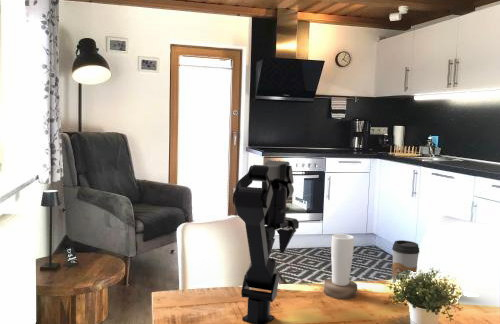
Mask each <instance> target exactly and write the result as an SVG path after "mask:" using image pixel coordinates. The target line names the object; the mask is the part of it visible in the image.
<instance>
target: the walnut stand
mask: <svg viewBox="0 0 500 324" xmlns="http://www.w3.org/2000/svg"><path fill="white" fill-rule="evenodd" d="M323 285H324V286H323V294H325V295H326V297H327V296H328V297H329V298H332V299H336V300H345V301H346V300H352V299H354V298H356V297H357V294H358V284H357V283H356V281H355V282H354V281H352V280H350V279H349V284H348V285H347V286H337V285H335V284H333V283H332V277H331V278H327V279H326V280H324V283H323Z"/></svg>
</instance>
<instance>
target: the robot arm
mask: <svg viewBox="0 0 500 324" xmlns="http://www.w3.org/2000/svg"><path fill="white" fill-rule="evenodd" d="M290 164H291V163H290V161H282V160H271V159H269V160H267V161H266V162H264V164H253V165H250V167H249V169H248V170H247V171H248V172H246V174H244V175H243V176H242V177H241V178H240V179H239V180H238V181H237V183H236V186H235V189H234V191H233V193H232V204H233V206H234V208H235V212H236V215H237V216H238V217H239V218H240V219H241V220H242V221H243V222H244V224H245V232H246V238H247V246H248V252H249V253H248V254H249V260H250V263H249V265H248V269H247V270H246V272H245V274H244V278H243V282H242V286H241V292H240V293H241V294H240V295H241V298H247V312H246V313H247V314H246V315H244V316H242V321H246V322H248V323H251V324H268V323H270V322H272V320H274V319H276V318H275V315H273V314H271V303H273V302H274V300H275V299H276V298H277V295H278V288H279V287H278V286H279V280H280V278H279V277H280V276H279V275H280V274H279V273H278V272H277V271H278V269H277V262H276V259H275V258H270V257H271V253H272V251H273V247H274V244H275V240H276V238H275V236H276V233H277V234H278V241H279V242H278V243H279V244H278V245H279V252H280V254H284V253H285V251H286V249H287V247H288V245H289V243H291V240H292V238H293V237H294V235H295V234H296V232H297V229H299V226H300V224H299V223H300V222H299V220H298V219H297V218H293V217H287V212H289V211H290V207H287V200H288V199H289V198H291V197H292V195H294V192H295V191H294V190H295V189H294V186H293V183H294V174H293V167H292V165H290ZM253 182H265V183H266V186H267V187H266V188H265V187H264V188H263V187H254V186H253V187H251V184H253ZM255 289H257V290H255ZM258 289H259V290H258ZM262 290H263V291H262ZM269 291H270V292H269Z"/></svg>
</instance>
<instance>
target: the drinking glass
mask: <svg viewBox="0 0 500 324" xmlns="http://www.w3.org/2000/svg"><path fill="white" fill-rule="evenodd" d="M330 244H331V245H330V246H331V247H330V255H331V258H330V259H331V278H332V283H333V284H335V285H337V286H347V285H348V284H349V280H350V277H351V272H352V271H351V269H352V262H353V256H354V248H355V247H354V245H355V237H354V236H353V235H351V234H346V233H334V234H332V236H331V243H330Z"/></svg>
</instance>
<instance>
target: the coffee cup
mask: <svg viewBox="0 0 500 324" xmlns="http://www.w3.org/2000/svg"><path fill="white" fill-rule="evenodd" d="M391 249H392V284H393V283H395V282H396V279H395V276H396V274H399V273H401V272H403V271H405V270H411V271H413V272H416V273H417V270H418V260H419V254H420V247H419V244H418V243H417V242H415V241H410V240H403V239H402V240H401V239H400V240H395V241H394V242H393V244H392V247H391Z"/></svg>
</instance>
